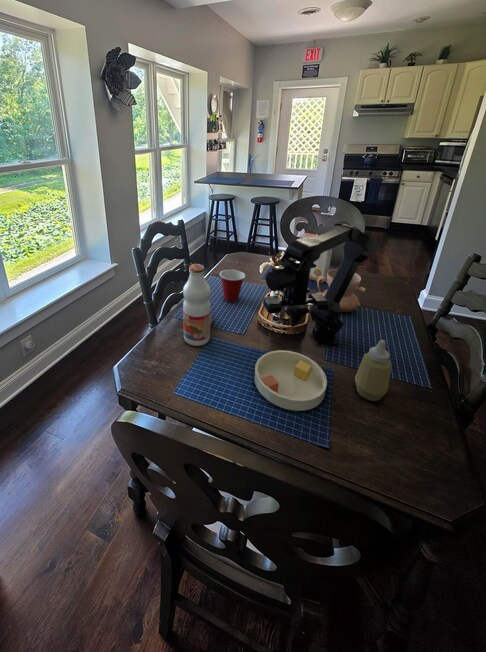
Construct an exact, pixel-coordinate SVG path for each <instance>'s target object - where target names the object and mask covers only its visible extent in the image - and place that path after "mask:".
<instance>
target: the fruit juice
mask: <svg viewBox="0 0 486 652" xmlns="http://www.w3.org/2000/svg"><path fill="white" fill-rule="evenodd" d="M188 271H189V276H188V278H187V281H186V282H185V284H184V286H183V289H182V294H183V297H184V300H183V302H182V320H183V322H182V323H183V325H182V326H183V340H184V341H185V342H186V343H187V344H188V345H190V346H194V347H200V346H205V345H206V344H208V343H209V341H210V340H211V339H210V338H211V324H210V317H212V315H211V314H212V313H211V312H212V311H211V310H212V309H211V308H212V306H211V300H210V296H211V286H210V285H209V283H208V282H207V281H206V279H205V275H204V273H205V266H204V265H203V264H201V263H192V264H190V265H189V267H188Z"/></svg>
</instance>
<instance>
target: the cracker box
mask: <svg viewBox="0 0 486 652" xmlns="http://www.w3.org/2000/svg"><path fill="white" fill-rule="evenodd" d="M317 236H320V235H318V234H313V233H308V232H303V233H301V234H300V235H299V239H303V238H315V237H317ZM332 254H333V248H332V249H329V250H327V251H325V252H323V253H322V254H321V255H320V258H319V259H318V260H316V261H315V262H313V263H314V264H315V265H316V267H315V268H311V270H310V277H309V280H311V281H315V282H317V281H318V278H319V277H321V276H326V277H327V272H328V271H329V270H330V265H331V259H332ZM323 283H326V281H324V280H321V284H323Z"/></svg>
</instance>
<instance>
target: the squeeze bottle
mask: <svg viewBox="0 0 486 652" xmlns="http://www.w3.org/2000/svg"><path fill="white" fill-rule="evenodd" d="M391 371H392V362H391V360H390V353H389V351H388V350H386V341H385V339H380V340H379V341H378V342H377V344H376V346H372V347H370V348H369V350H368V352H366V353H364V355H363V356H362V359H361V362H360V364H359V366H358V370H357V372H356V373H355V376H354V379H355V380H354V381H355V386H356V391H357V393H358V395H360V397H362V398H364V399H366V400H367V401H371V402H378V401H380V400H381V399H382V398H383V397H384V396H385V395H386V394H387V392H388V390H389V385H390V380H391V379H390V378H391Z"/></svg>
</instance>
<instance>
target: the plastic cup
mask: <svg viewBox="0 0 486 652" xmlns="http://www.w3.org/2000/svg"><path fill="white" fill-rule="evenodd" d="M219 277H220V280H221V286H222V293H223V298H224V300H225V301H226V302H228V303H235V302H237V301H238V299H239V297H240V293H241V289H242V285H243V282H244V280H245V278H246V273H244V272H243V271H240V270H236V269H224V270H220V272H219Z"/></svg>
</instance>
